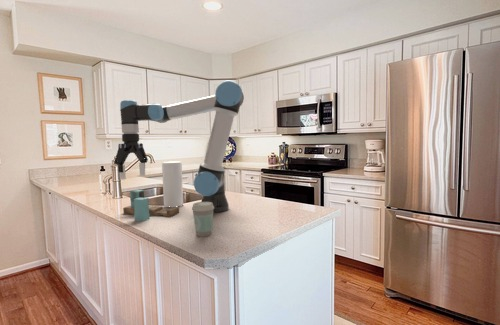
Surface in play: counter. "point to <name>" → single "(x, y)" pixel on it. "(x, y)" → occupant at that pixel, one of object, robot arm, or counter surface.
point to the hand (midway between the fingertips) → (133, 177)
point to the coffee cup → (203, 218)
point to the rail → (152, 209)
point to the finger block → (141, 209)
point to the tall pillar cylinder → (172, 183)
